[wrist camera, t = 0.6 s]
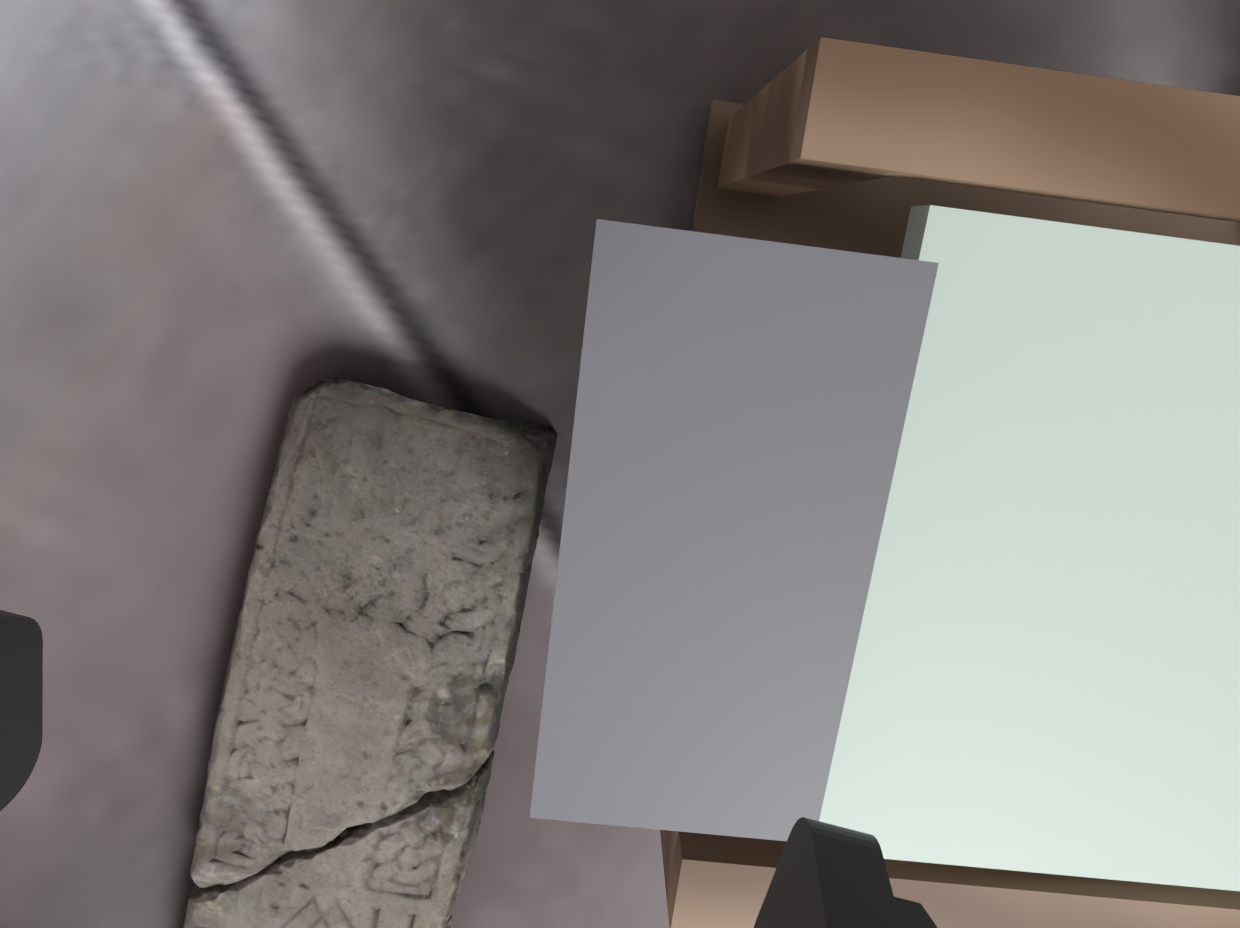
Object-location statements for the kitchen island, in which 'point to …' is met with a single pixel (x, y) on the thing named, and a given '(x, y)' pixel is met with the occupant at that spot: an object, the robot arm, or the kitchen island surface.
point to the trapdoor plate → (908, 547)
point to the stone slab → (368, 664)
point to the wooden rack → (876, 224)
